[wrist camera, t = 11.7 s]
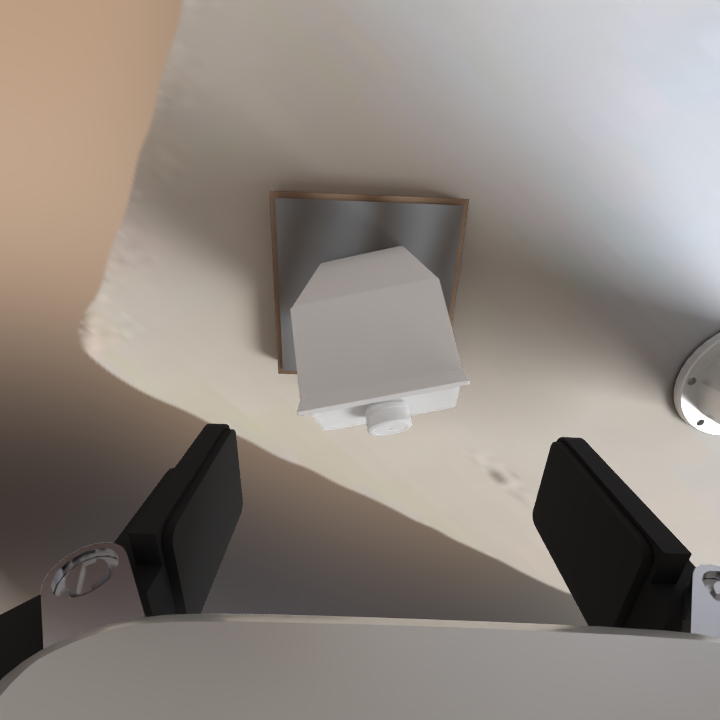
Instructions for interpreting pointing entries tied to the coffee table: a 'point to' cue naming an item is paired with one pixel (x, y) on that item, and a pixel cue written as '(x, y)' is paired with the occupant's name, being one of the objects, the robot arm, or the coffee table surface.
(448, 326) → the milk carton
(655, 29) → the coffee table surface
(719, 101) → the coffee table surface
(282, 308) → the framed mirror
